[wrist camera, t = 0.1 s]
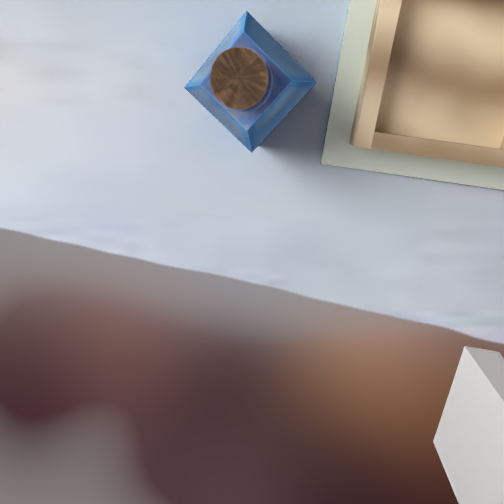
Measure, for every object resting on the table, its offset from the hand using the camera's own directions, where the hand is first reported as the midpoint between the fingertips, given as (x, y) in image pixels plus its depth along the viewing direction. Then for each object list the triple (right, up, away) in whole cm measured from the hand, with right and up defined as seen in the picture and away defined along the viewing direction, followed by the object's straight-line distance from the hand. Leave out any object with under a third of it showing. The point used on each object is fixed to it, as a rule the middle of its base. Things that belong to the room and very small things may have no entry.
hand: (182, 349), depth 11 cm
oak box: (+16, +16, +22) cm, 32 cm away
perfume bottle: (+2, +15, +25) cm, 29 cm away
